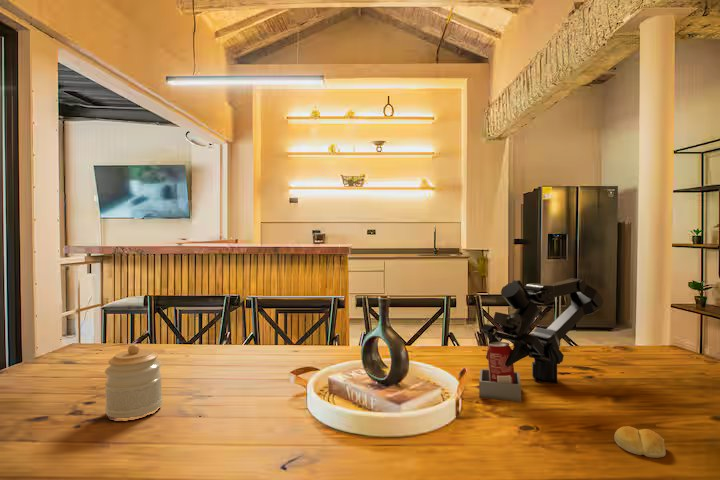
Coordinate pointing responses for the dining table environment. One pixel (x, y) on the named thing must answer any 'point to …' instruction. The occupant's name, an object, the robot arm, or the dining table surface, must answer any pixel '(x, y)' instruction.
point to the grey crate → (499, 388)
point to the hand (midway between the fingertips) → (496, 362)
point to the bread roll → (640, 441)
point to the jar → (133, 383)
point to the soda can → (500, 363)
